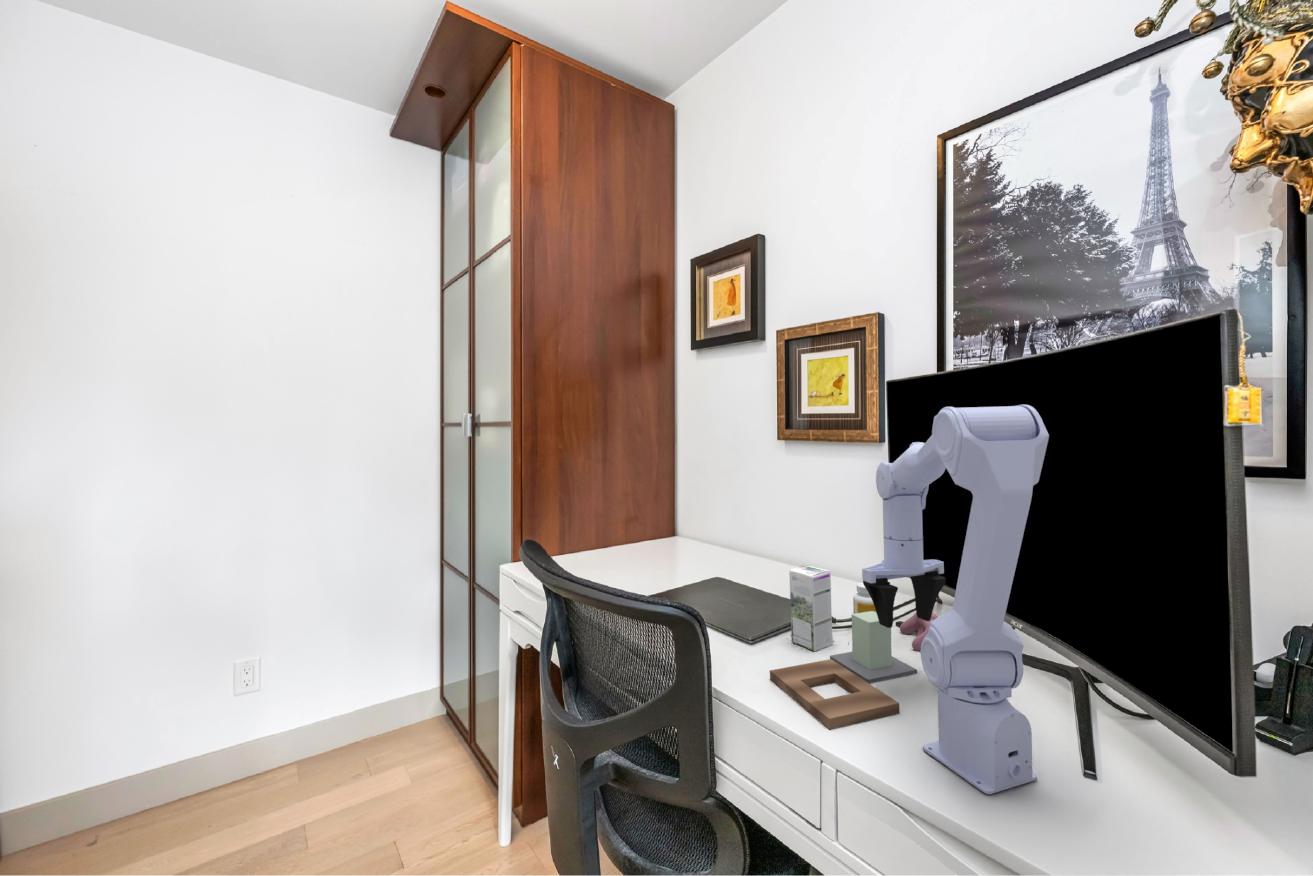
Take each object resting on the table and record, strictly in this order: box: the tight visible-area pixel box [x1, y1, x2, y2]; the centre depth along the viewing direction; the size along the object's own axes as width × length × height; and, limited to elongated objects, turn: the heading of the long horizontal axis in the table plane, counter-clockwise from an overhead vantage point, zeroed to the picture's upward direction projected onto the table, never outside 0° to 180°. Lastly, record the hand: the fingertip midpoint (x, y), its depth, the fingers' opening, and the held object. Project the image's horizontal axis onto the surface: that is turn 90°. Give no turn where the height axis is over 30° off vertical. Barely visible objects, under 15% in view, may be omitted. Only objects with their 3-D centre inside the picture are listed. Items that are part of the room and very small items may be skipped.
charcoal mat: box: [829, 651, 918, 684], centre depth 93 cm, size 10×10×1 cm
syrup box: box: [788, 565, 834, 652], centre depth 103 cm, size 6×6×14 cm
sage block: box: [851, 611, 893, 670], centre depth 93 cm, size 4×4×8 cm
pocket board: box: [769, 658, 901, 731], centre depth 83 cm, size 16×12×2 cm
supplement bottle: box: [852, 581, 876, 614], centre depth 108 cm, size 5×5×10 cm
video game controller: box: [899, 612, 939, 652], centre depth 102 cm, size 10×5×7 cm, turn 170°
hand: (904, 622), depth 85 cm, fingers open, 7 cm apart
